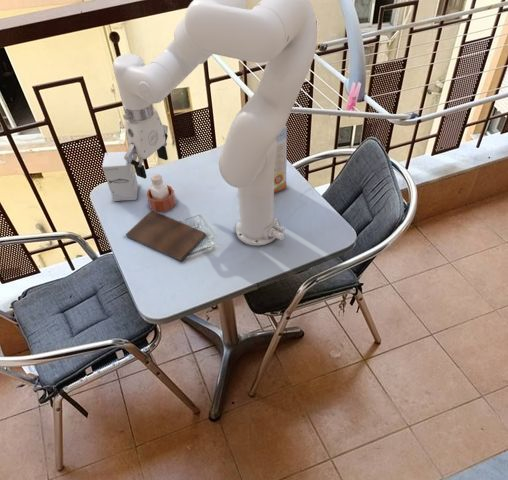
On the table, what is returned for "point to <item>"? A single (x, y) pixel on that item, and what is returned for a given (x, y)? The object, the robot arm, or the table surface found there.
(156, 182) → the pepper shaker
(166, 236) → the walnut board
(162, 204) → the crock
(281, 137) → the cracker box
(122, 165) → the white packaging box
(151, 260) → the table surface
